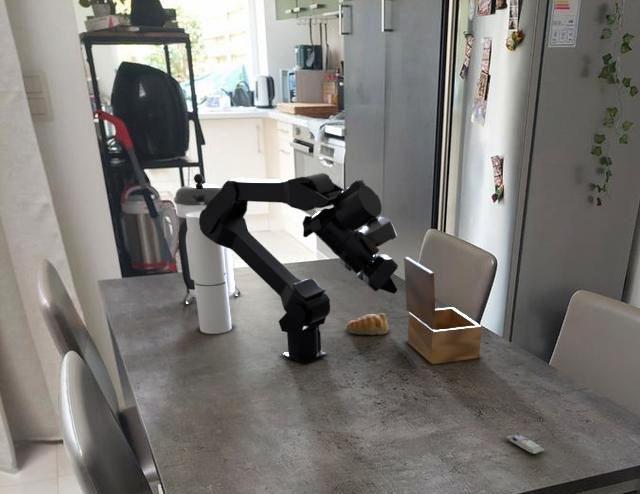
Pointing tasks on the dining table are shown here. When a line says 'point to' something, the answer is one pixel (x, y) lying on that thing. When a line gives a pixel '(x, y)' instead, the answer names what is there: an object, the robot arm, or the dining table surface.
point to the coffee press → (187, 202)
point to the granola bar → (525, 443)
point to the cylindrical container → (208, 279)
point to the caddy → (445, 337)
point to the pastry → (368, 325)
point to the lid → (420, 292)
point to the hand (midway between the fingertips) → (395, 291)
